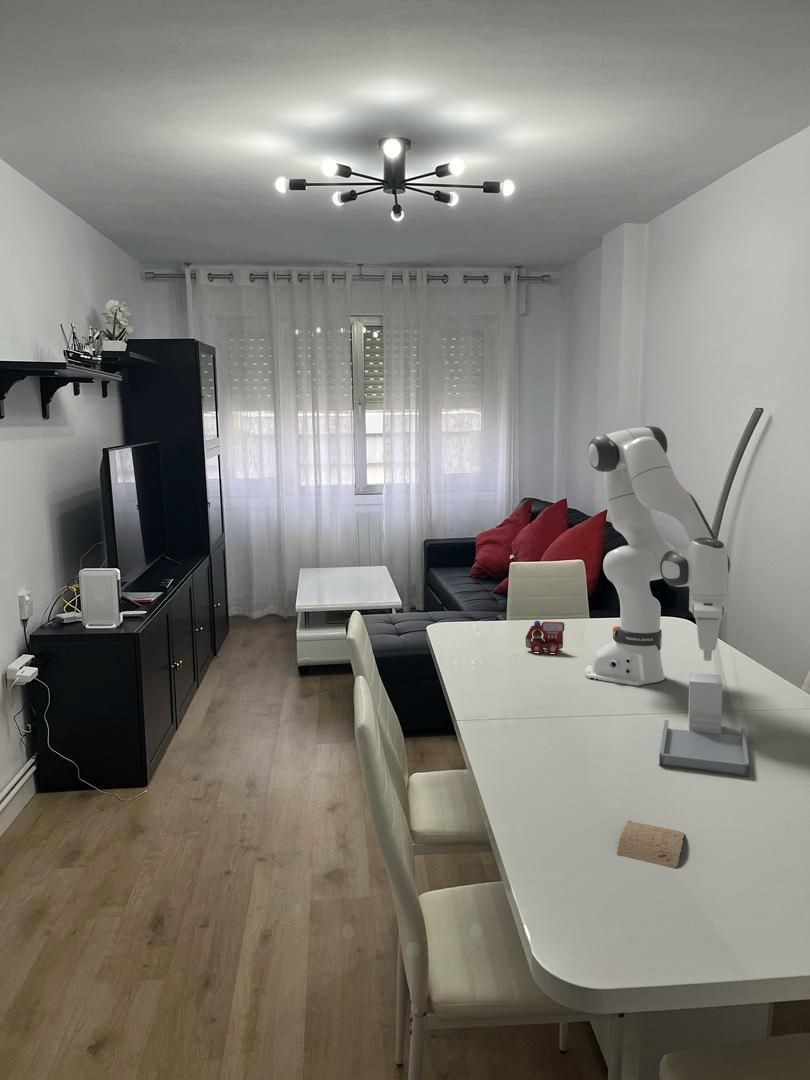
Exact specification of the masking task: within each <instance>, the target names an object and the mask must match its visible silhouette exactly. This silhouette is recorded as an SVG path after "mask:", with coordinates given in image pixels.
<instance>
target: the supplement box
mask: <svg viewBox="0 0 810 1080" xmlns="http://www.w3.org/2000/svg"><path fill="white" fill-rule="evenodd" d="M688 674H689V675H688V715H687V716H688V717H687V719H688V720H687V721H688V731H696V732H705V733H715V734H722V715H723V714H722V710H723V680H722V677H721V674H718V673H717V674H714V673H701V672H689V673H688Z"/></svg>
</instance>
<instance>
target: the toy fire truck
mask: <svg viewBox="0 0 810 1080" xmlns="http://www.w3.org/2000/svg"><path fill="white" fill-rule="evenodd" d="M533 623H534V624H533V625H531V626H530V628H529V630H528V631H527V633H526V635H525V647H526V648H528V649H530V651H531V653H533V652H539V653H540V654H541V653H542V652H543V651H544V649H546V652H547V653H548V654H549V653H557V654H558V653H559V652H560V650H561V649H562V648H564V631H565V622H563V621H542V623H541V621H539V620H535V621H534V622H533Z"/></svg>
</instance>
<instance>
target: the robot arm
mask: <svg viewBox="0 0 810 1080" xmlns="http://www.w3.org/2000/svg"><path fill="white" fill-rule="evenodd" d="M668 446H669V445H668V439H667V436H666V434H665V432H664V431H663V430H662V429H661V428H660V427H657V426H652V425H651V426H649V425H646V426H644V427H632V428H624V429H622V430H617V431H614V432H613V431H612V432H610V433H607V434H605V433H604V434H600V435H597V436H595V437H593V438H592V439H591V440H590V442H589V444H588V449H587V453H588V454H587V455H588V460H589V463H590V464H591V467H592V468H593V469H594V470H596V471H597V472H601V473H603V482H604V483H603V485H604V492H605V499H606V503H607V507H608V510H609V514H610V521H611V525H612V527H613V528H614V530H615V531H616V532H618V533H620V534H621V535H622V536H623V538H624V539H625V540H626V541H627V545H622V546H619V547H617V548H615V549H613V550H610V551H609V552H607V553H606V555H605V556H604V559H603V562H602V569H603V573H604V574H605V576H606V578H607V580H608V581H609V582H610V583H612V584H613V586H614V587H615V589H616V592H617V595H618V599H619V606H620V610H619V611H620V625H614V626H613V627H612V640H610V641H609V642H607V643H606V644H605V645H603V646H602V647H600V648H599V649H597V650H596V652H595V654H594V655H593V660H592V663H590V664H588V665H587V666H586V667H585V670H584V676H585V675H586V676H587V677H588V679H590V678H594V679H593V680H596V679H598V681H603V682H604V681H606V682H609V683H618V684H624V685H629V686H643V685H645V684H646V685H647V684H654V683H658V682H662V681H663V680H665V679H666V678H665V673H664V669H663V663H662V656H661V653H662V652H661V650H662V645H663V635H662V634H663V631H662V628H661V613H662V612H661V611H662V609H661V608H662V607H661V603H660V601H659V600H658V599H657V598H656V597H655V596H653V593H652V591H651V586H650V582H651V581H657V580H661V579H663V581H665V583H666V584H667V585H669V586H671V587H677V588H678V587H681V588H682V587H688V588H689V590H688V591H689V597H688V599H689V601H688V611H689V612H690V613H691V614H692V616H693V618H695V623H696V631H697V641H698V646H699V650H702V651H703V660H704V661H706V662H711V661H712V654H713V653H712V652H713V651H715V650H716V649H717V645H718V639H719V638H718V636H719V630H720V624H721V620H722V619H723V617H724V615H725V614H726V613H727V614H728V603H729V602H728V601H729V599H728V595H729V594H728V593H729V591H728V589H727V579H728V578H729V573H730V571H731V560H730V557H729V555H728V551H727V548H726V544H725V543H724V542H723V541H721V540H720V539H717V538H716V536H715V534H714V532H713V530H712V528H711V526H710V525H709V523H708V521H707V519H706V516H705V515H704V513H703V511H702V509H701V508H700V506H699V504H698V502H697V501H696V499H695V498H694V496H693V495H692V494H691V493H690V492H688V491H687V490H686V489H685V488H684V487H683V486H682V484H681V483H680V481H679V480H678V478H677V476H676V474H675V472H674V470H673V467H672V465H671V462H670V460H669V457H668V456H667V453H668ZM651 510H652V511H656V512H660V513H663V514H666V515H668V516H670V517H673V518H674V519H676V520H677V521H678V522H679V523H680V524H681V525H682V527H683V528H684V531H685V532H686V534H687V536H688V539H689V541H690V543H688V544H686V545H685V546H682V547H679V548H676V547H674V546H673V545H672V544H671V543H670V542H668V541H667V540H666V539H665V538H664V536H663V535H662V534H661V533H660V530H659V529H658V527H657V526H656V523H655V520H654V519H653V515H652V512H651ZM586 676H585V677H586ZM587 677H586V678H587Z"/></svg>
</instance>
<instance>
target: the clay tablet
mask: <svg viewBox="0 0 810 1080" xmlns="http://www.w3.org/2000/svg"><path fill="white" fill-rule="evenodd" d="M685 835H686V833H684V832H682V831H680V830H678V829H676V830H675V829H670V828H667V827H666V828H665V827H662V826H661V827H660V826H655V825H650V824H646V823H645V824H644V823H641V822H635V821H632V820H630V819H627V821H626V824H625V828H624V829H623V830H622V832H621V834H620V836H619V839H618V840H619V841H618V846H617V852H616V854H617V856H618V857H623V858H624V857H625V858H629V859H634V860H637V861H641V862H645V863H650V864H654V865H659V866H661V867H662V866H663V867H667V868H671V869H676V868H677V867H678V865H679V862H680V855H681V852H682V846H683V843H684V842H683V839H684V837H685Z"/></svg>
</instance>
